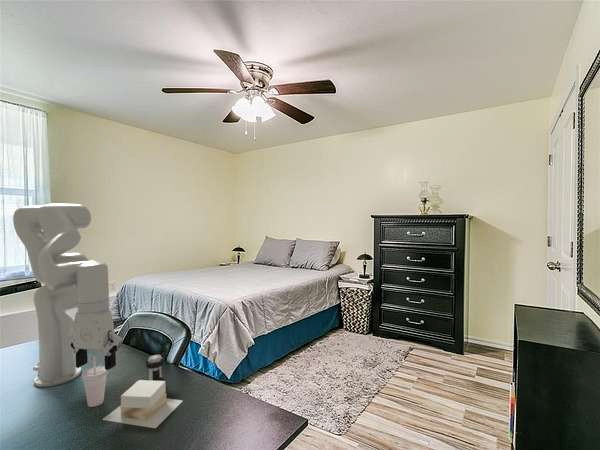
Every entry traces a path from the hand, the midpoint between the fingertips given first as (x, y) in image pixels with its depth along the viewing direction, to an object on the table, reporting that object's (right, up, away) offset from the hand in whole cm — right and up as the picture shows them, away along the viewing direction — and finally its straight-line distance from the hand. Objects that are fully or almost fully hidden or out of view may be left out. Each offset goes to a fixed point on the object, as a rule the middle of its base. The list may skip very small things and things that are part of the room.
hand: (96, 366), depth 89 cm
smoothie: (-1, -11, +1) cm, 11 cm away
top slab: (+15, -8, -3) cm, 17 cm away
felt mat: (+15, -11, -3) cm, 19 cm away
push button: (+12, -11, +8) cm, 19 cm away
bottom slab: (+15, -11, -3) cm, 19 cm away
